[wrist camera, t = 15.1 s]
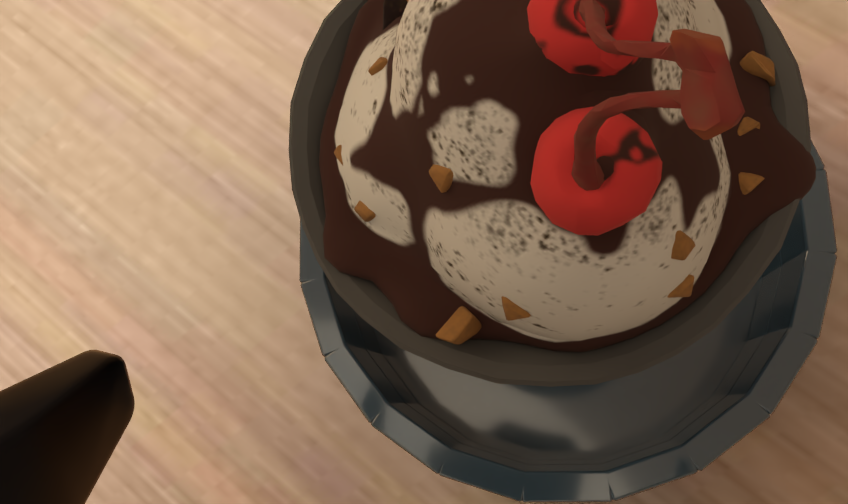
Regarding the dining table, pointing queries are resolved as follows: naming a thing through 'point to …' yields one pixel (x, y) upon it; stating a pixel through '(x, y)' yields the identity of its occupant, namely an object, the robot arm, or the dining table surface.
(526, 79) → the sundae
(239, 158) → the dining table surface
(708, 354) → the dark grey round dish
